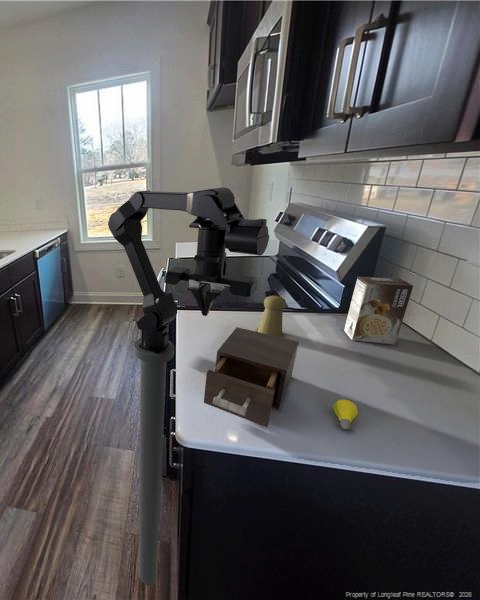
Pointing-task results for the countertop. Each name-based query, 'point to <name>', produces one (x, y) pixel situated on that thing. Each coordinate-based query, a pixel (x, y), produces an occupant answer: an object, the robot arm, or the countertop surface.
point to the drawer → (242, 389)
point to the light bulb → (345, 412)
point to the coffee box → (377, 309)
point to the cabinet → (262, 355)
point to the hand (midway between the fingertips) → (205, 315)
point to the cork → (272, 316)
